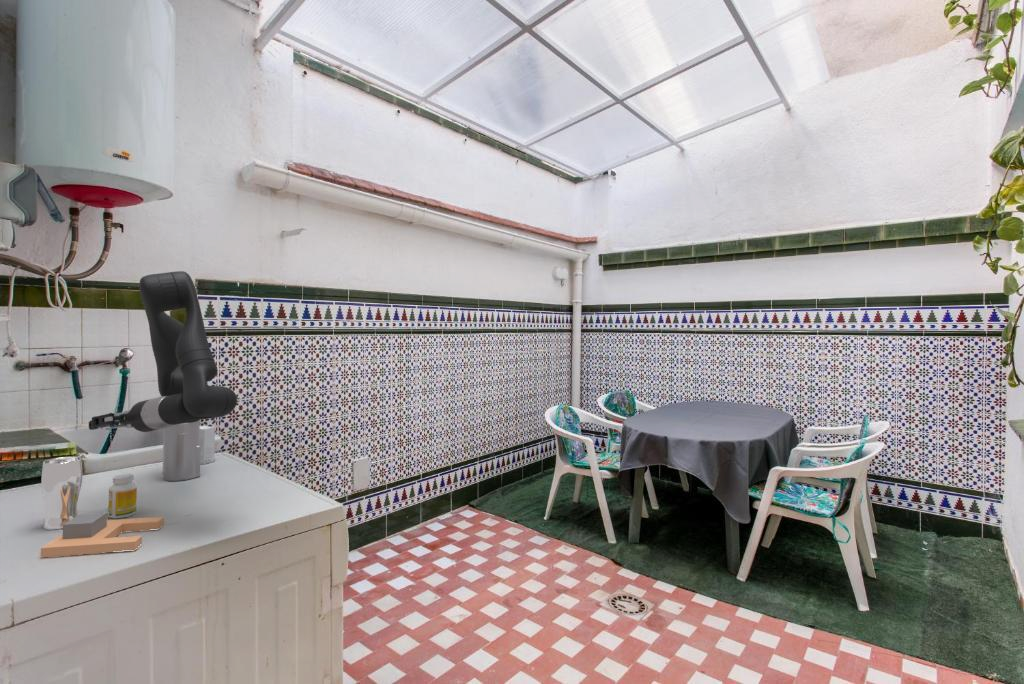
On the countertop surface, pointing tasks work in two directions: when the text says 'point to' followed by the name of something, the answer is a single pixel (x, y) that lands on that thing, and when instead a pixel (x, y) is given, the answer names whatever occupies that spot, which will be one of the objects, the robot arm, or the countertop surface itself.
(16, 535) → the countertop surface
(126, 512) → the supplement bottle
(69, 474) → the beer glass
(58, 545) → the orange forked bracket
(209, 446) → the skincare box
